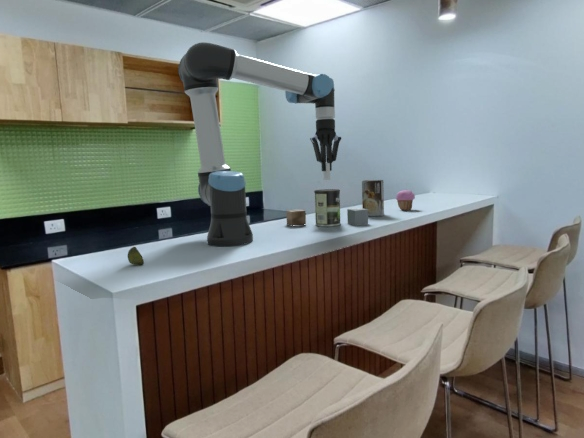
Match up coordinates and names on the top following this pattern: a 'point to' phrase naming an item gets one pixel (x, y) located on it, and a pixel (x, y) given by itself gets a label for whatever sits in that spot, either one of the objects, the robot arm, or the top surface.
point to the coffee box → (373, 197)
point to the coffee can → (327, 207)
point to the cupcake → (405, 199)
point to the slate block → (357, 216)
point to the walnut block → (296, 217)
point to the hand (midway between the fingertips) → (326, 179)
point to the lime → (135, 256)
